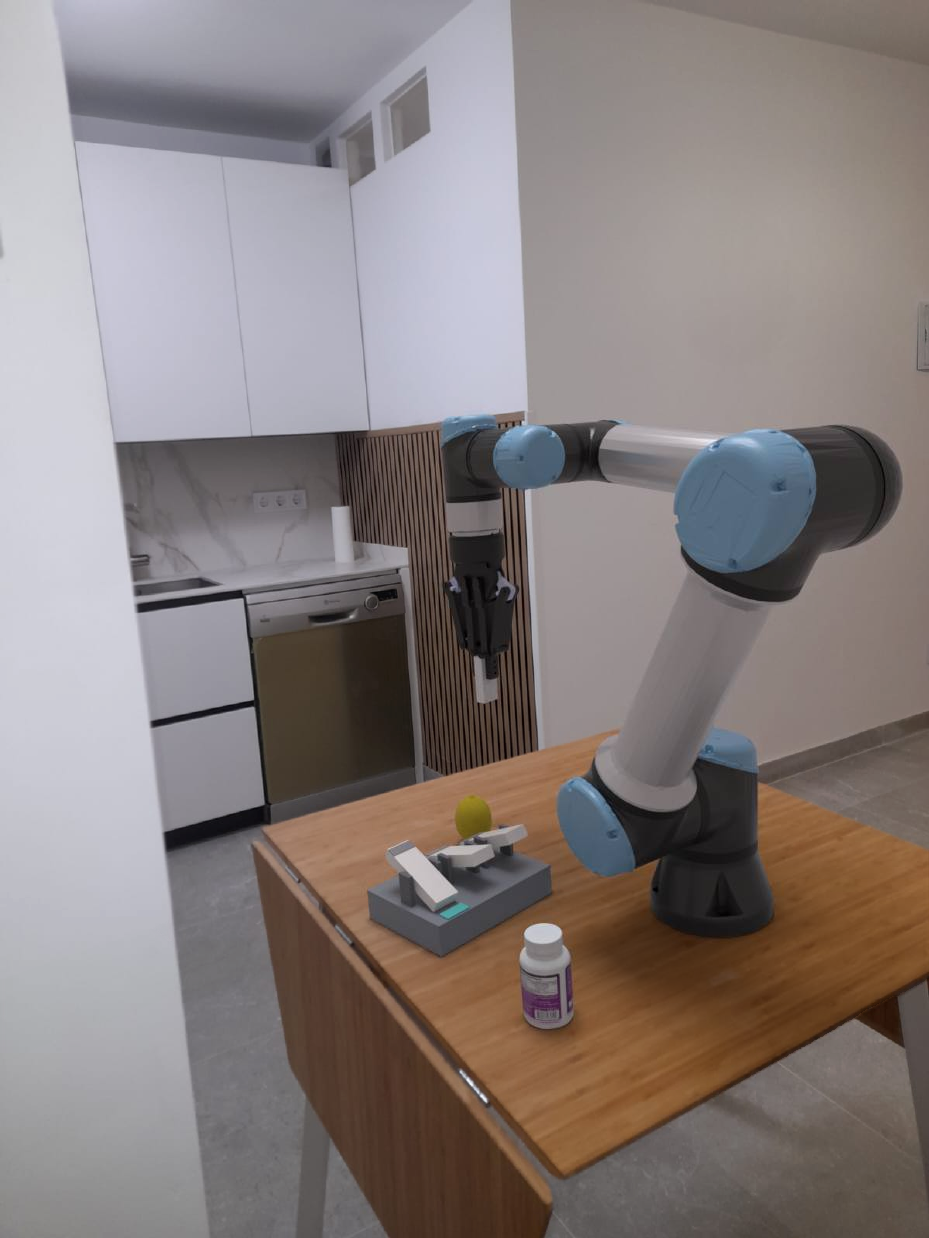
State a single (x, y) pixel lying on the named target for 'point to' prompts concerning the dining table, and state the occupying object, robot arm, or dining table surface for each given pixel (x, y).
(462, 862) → the rocker
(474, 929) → the console
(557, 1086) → the dining table surface
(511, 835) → the rocker
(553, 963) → the pill bottle
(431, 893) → the rocker
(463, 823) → the lemon
